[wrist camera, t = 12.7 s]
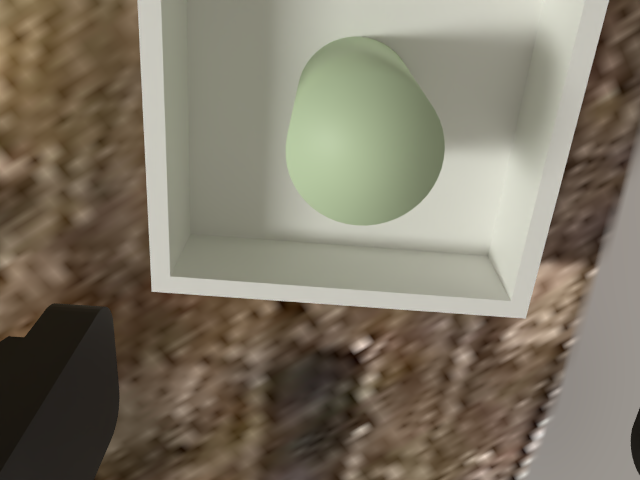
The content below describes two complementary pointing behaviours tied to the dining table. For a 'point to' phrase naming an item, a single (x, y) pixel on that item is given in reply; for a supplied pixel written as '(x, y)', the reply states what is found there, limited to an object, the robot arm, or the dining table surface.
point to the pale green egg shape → (362, 134)
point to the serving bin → (272, 128)
